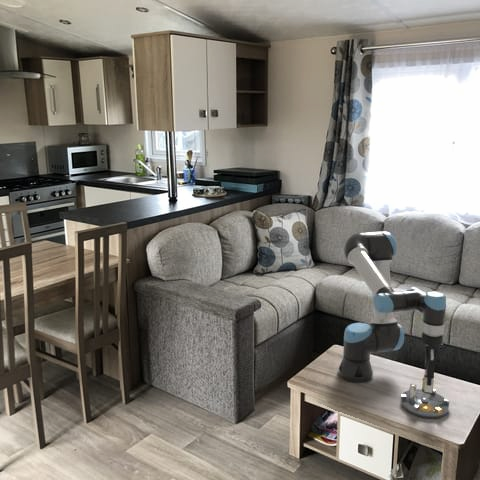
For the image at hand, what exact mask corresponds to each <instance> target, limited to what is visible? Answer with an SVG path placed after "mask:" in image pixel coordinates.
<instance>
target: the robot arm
mask: <svg viewBox="0 0 480 480" xmlns="http://www.w3.org/2000/svg"><path fill="white" fill-rule="evenodd" d="M396 241H397V240H396V238H395V237H394V235H393V234H392V233H390V232H388V231H381V230H380V231H369V232H368V231H367V232H357V233H354V234H352V235H350V236H349V237H348V239H347V240H346V241H345V244H344V247H343V253H344V257H345V259H346V260H347V262H348V264H350V265H352V266H353V267H354V268H355V270H356V271H357V272H358V275H360V277H361V279H362V280H363V281H364V283H365V284H366V286H367V288H368V289H369V290H370V291H371V296H372V297H371V298H372V310H373V319H372V320H371V321H370V324H371V325H370V324H368V323H367V322H366V323H365V322H354V323H351V324H348V325H347V326H346V327H345V330H344V335H343V352H342V353H343V356H342V359H341V362H340V365H339V367H338V376H339V377H340V378H342V379H343V380H344V381H347V382H351V383H356V384H360V383H361V384H363V383H368V382H370V381H371V380H372V379H373V376H374V370H373V369H372V368H373V367H372V364H371V354H374V353H385V352H388V353H389V352H390V353H391V352H394V351H398V350H400V349H401V348H402V346H403V345H404V342H405V331H404V330H403V326H402V325H401V324H399V323H398V320H397V319H396V318H395V317H394V315H395V314H394V313H398V312H406V311H418V312H420V313H421V314H423V317H422V318H423V319H422V323H421V324H420V326H421V327H422V330H421V331H422V332H421V342H422V344H424V345H425V352H424V353H425V359H424V360H425V361H424V375H423V378H424V377H425V388H424V392H430V393H432V385H433V380H435V379H434V378H435V368H436V359H437V355H438V349H437V348H438V346H441V345H442V344H443V340H444V335H443V334H444V331H445V330H444V329H445V320H446V319H445V318H446V309H447V297H446V294H444V293H442V292H438V291H428V292H426V291H425V290H423V289H421V288H418V287H417V286H412V287H410V288H408V289H407V290H406V291H395V290H394V288H392V281H391V272H390V271H391V270H390V269H391V268H390V264H391V263H392V261H393V257H394V256H395V255H396V254H397V251H398V250H397V249H398V246H397V242H396ZM433 386H434V385H433Z"/></svg>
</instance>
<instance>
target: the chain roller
mask: <svg viewBox="0 0 480 480" xmlns="http://www.w3.org/2000/svg"><path fill="white" fill-rule="evenodd" d="M434 380H435V379H433V385H432V393H433V389H434V383H435V381H434ZM421 386H422V387H421V389H422V392H424V388H425V377H424V376H423V378H422V385H421ZM424 393H426V394H432V393H430V392H424Z"/></svg>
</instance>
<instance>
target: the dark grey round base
mask: <svg viewBox="0 0 480 480" xmlns="http://www.w3.org/2000/svg"><path fill="white" fill-rule="evenodd" d="M408 389H409V390H406V391H404V392H403V393H401V395H400V404H401V407H402V408H403V409H404V410H405V411H406V412H408V413H410V414H411V415H414V416H417V417H419V418H424V419H425V418H426V419H440V418H443V417H445V416H446V415H448V413H449V409H450V408H449V406H450V399H449V398H448V399H447V398H445V397H444V396H442V395H441V394H439V393H437V389H436V388H433V393H432V394H426V393H424V392H422V388H421V389H420V388H418V387H417V384H415V383H410V385H409V387H408Z"/></svg>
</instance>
